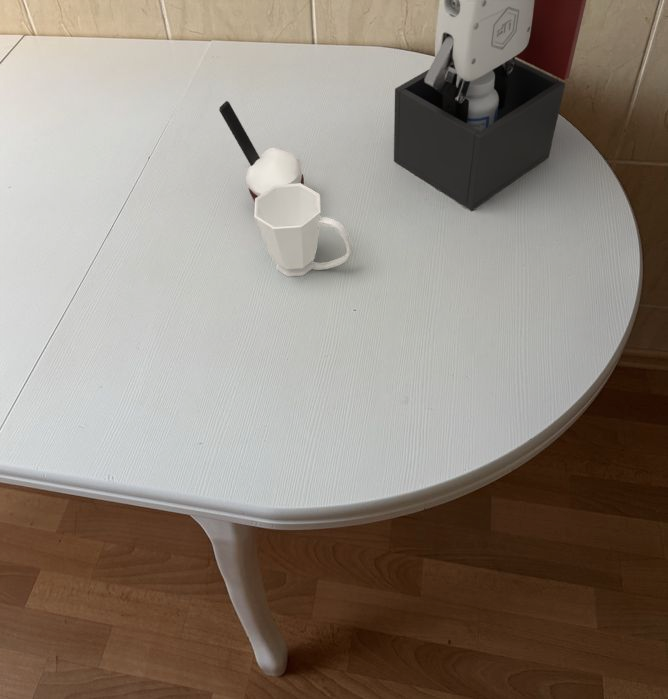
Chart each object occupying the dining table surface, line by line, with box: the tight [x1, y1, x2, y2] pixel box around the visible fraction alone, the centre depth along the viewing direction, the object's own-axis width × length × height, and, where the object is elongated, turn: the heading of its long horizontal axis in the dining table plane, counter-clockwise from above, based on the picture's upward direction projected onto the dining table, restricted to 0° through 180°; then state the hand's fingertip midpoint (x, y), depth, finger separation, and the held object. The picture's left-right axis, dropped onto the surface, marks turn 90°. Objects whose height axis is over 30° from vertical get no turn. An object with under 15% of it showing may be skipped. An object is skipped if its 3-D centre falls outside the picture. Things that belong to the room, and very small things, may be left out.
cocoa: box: [218, 100, 305, 202], centre depth 77 cm, size 10×6×12 cm, turn 38°
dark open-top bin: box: [393, 58, 566, 212], centre depth 81 cm, size 14×13×10 cm
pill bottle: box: [456, 70, 499, 132], centre depth 79 cm, size 6×5×10 cm
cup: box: [253, 183, 353, 278], centre depth 72 cm, size 7×10×8 cm
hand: (472, 114), depth 79 cm, fingers closed on pill bottle, 5 cm apart
